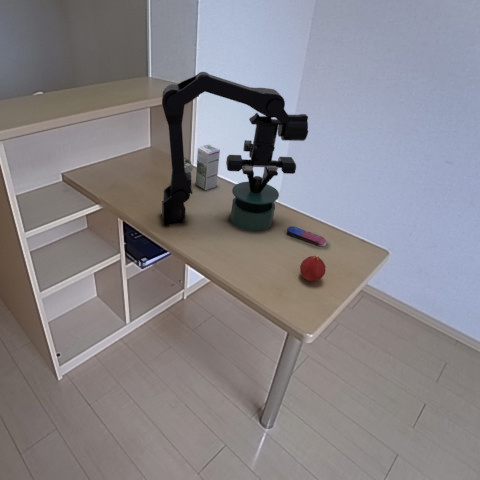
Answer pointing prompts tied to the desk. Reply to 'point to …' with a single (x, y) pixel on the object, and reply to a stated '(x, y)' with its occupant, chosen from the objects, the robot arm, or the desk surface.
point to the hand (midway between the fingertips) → (255, 190)
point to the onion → (312, 268)
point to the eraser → (306, 236)
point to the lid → (255, 192)
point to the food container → (187, 165)
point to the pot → (252, 215)
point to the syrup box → (207, 167)
